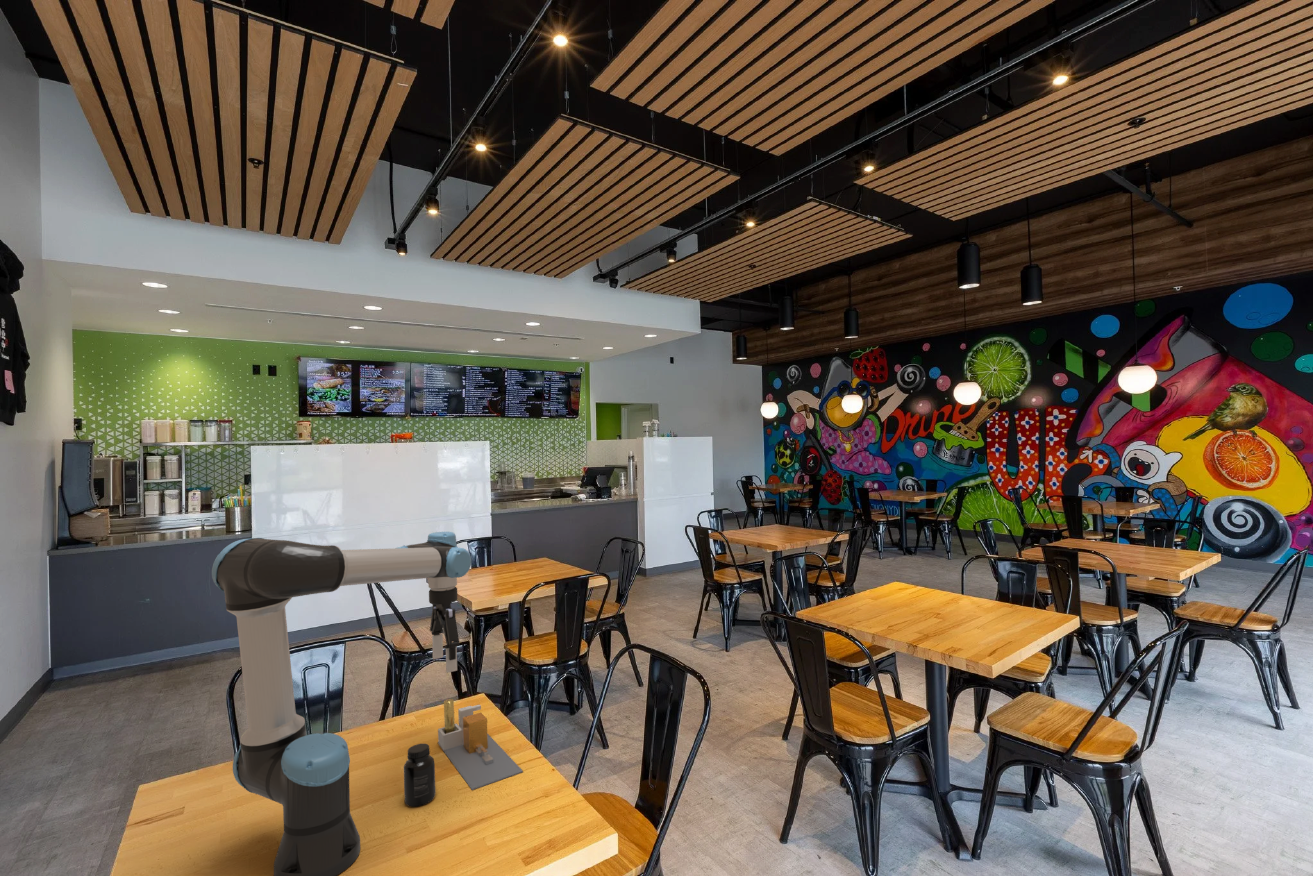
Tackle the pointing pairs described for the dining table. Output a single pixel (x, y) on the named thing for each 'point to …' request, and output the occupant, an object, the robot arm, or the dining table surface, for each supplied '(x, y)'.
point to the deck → (476, 756)
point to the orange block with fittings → (476, 736)
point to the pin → (449, 716)
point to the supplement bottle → (419, 776)
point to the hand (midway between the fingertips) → (444, 664)
